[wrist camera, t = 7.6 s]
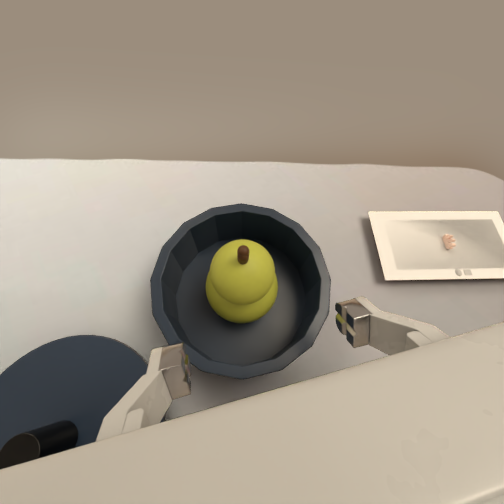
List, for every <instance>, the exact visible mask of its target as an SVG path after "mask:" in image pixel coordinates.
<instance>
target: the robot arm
mask: <svg viewBox="0 0 504 504" xmlns="http://www.w3.org/2000/svg"><path fill="white" fill-rule="evenodd" d="M335 310H336V311H337V312H338V314H337V315H336V324H337V327H338V329H339V331H340V332H341V333H342V334H344V335H346V336H347V341H348V342H349V343H350V344H351V345H352V346H353V348H356V347H360V346H364V345H368V344H369V345H370V346H372V347H374V348H376V349H378V350H380V351H382V352H384V353H386V354H388V355H390V356H386V357H383V358H380V359H376V360H373V361H369V362H366V363H362V364H359V365H356V366H352V367H349V368H345V369H342V370H339V371H335V372H332V373H328V374H325V375H321V376H318V377H315V378H311V379H308V380H305V381H301V382H298V383H294V384H291V385H288V386H284V387H281V388H277V389H274V390H271V391H267V392H264V393H260V394H257V395H253V396H250V397H247V398H243V399H240V400H236V401H233V402H230V403H226V404H223V405H219V406H216V407H213V408H209V409H206V410H202V411H199V412H195V413H192V414H189V415H185V416H182V417H178V418H175V419H172V420H168V421H165V422H161V423H160V421H161V420H162V418H163V416H164V415H165V413H166V411H167V410H168V408H169V406H170V404H171V403H172V400H174V399H177V398H180V397H183V396H186V395H190V394H191V381H190V378H189V377H190V376H191V365H190V360H189V356H188V355H187V354H186V347H185V344H184V342H180V343H176V344H172V345H167V346H163V347H159V348H155V349H153V350H152V351H151V354H150V359H149V363H148V368H147V372H146V375H143V376H142V377H141V378H140V379H139V380H138V381H137V382H136V383H135V384H134V386H133V387H132V388H131V389H130V390H129V391H128V392H127V393H126V394H125V395H124V396H123V397H122V399H121V400H120V401H119V402H118V403H117V404H116V405H115V406H114V407H113V408H112V409H111V411H110V412H109V413H108V414H107V415H106V416H105V417H104V419H103V422H102V424H101V427H100V430H99V433H98V436H97V439H96V442H93V443H90V444H86V445H83V446H79V447H76V448H73V449H69V450H66V451H62V452H59V453H56V454H52V455H49V456H45V457H42V458H39V459H35V460H32V461H28V462H25V463H21V464H18V465H14V466H11V467H7V468H3V469H0V504H504V322H502V323H498V324H495V325H492V326H488V327H485V328H482V329H478V330H475V331H471V332H468V333H465V334H461V335H458V336H454V337H449V336H448V335H447V334H445V333H444V332H442V331H441V330H440V329H438V328H437V327H435V326H434V325H431V324H428V323H424V322H421V321H417V320H414V319H411V318H407V317H404V316H400V315H397V314H393V313H390V312H386V311H383V312H382V311H381V310H379V309H378V308H377V307H376V306H375V305H373V304H372V303H371V302H370V301H368V300H367V299H366V298H365V297H363V296H360V297H357V298H353V299H351V300H347V301H343V302H339V303H336V305H335Z"/></svg>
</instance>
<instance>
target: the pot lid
mask: <svg viewBox="0 0 504 504" xmlns="http://www.w3.org/2000/svg"><path fill="white" fill-rule="evenodd" d="M147 368H148V364H147V362H146V361H145V360H144V359H143V357H142V356H140V355H139V354H138V353H137V352H136V351H135V350H134V349H132V348H130V347H129V346H127V345H126V344H124V343H122V342H119V341H117V340H115V339H111V338H107V337H103V336H96V335H78V336H71V337H66V338H62V339H58V340H55V341H52V342H50V343H47V344H45V345H42V346H40V347H38V348H37V349H35V350H33V351H31V352H29V353H28V354H26V355H25V356H23V357H21V358H20V359H18V360H17V361H16V362H15V363H13V364H12V365H11V366H10V367H8V368H7V369H6V370H5V371H4V372H3V373H2V374H1V375H0V469H3V468H7V467H11V466H14V465H18V464H21V463H25V462H28V461H32V460H35V459H39V458H42V457H45V456H49V455H52V454H56V453H59V452H62V451H66V450H69V449H73V448H76V447H79V446H83V445H86V444H90V443H93V442H96V439H97V436H98V433H99V430H100V427H101V424H102V422H103V419H104V417H105V416H106V415H107V414H108V413H109V412H110V411H111V409H112V408H113V407H114V406H115V405H116V404H117V403H118V402H119V401H120V400H121V399H122V397H123V396H124V395H125V394H126V393H127V392H128V391H129V390H130V389H131V388H132V387H133V386H134V384H135V383H136V382H137V381H138V380H139V379H140V378H141V377H142V376H143V375H146V372H147ZM161 422H165V415H164V416H163V418H162V420H161V421H160V423H161Z"/></svg>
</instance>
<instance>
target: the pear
mask: <svg viewBox="0 0 504 504" xmlns="http://www.w3.org/2000/svg"><path fill="white" fill-rule="evenodd" d="M277 292H278V282H277V277H276V274H275V267H274V262H273V259H272V257H271V255H270V254H269V253H268V251H267V250H266V249H265V248H264V247H263V246H261V245H260V244H258V243H256V242H254V241H250V240H242V239H241V240H234V241H231V242H229V243H227V244H225V245H224V246H222V247H221V248H220V249H219V250H218V251H217V252H216V254H215V255H214V257H213V259H212V262H211V265H210V271H209V273H208V276H207V279H206V295H207V299H208V301H209V303H210V305H211V307H212V308H213V310H214V311H215V312H216V313H217V314H218V315H219V316H221V317H222V318H224V319H225V320H228V321H230V322H234V323H249V322H253V321H255V320H258V319H260V318H261V317H263V316H264V315H265V314H266V313H267V312H268V311H269V310H270V309H271V307H272V306H273V304H274V302H275V300H276V297H277Z"/></svg>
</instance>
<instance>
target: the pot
mask: <svg viewBox="0 0 504 504" xmlns="http://www.w3.org/2000/svg"><path fill="white" fill-rule="evenodd" d="M241 239H242V240H250V241H254V242H256V243H258V244H260V245H261V246H263V247H264V248H265V249H266V250H267V251H268V253H269V254H270V255H271V257H272V259H273V262H274V267H275V274H276V277H277V282H278V292H277V297H276V300H275V302H274V304H273V306H272V307H271V309H270V310H269V311H268V312H267V313H266V314H265V315H264V316H263V317H261V318H260V319H258V320H255V321H253V322H249V323H234V322H230V321H228V320H225V319H224V318H222V317H221V316H219V315H218V314H217V313H216V312H215V311H214V310H213V308H212V307H211V305H210V303H209V301H208V299H207V295H206V279H207V276H208V273H209V271H210V265H211V262H212V259H213V257H214V255H215V254H216V252H217V251H218V250H219V249H220V248H221V247H222V246H224V245H225V244H227V243H229V242H231V241H234V240H241ZM150 281H151V297H152V313H153V316H154V318H155V320H156V322H157V324H158V326H159V327H160V329H161V331H162V333H163V335H164V337H165V339H166V341H167V342H168V344H169V345H172V344H176V343H180V342H184V344H185V347H186V354H187V355H188V356H189V360H190V363H191V364H193V365H194V366H195V367H197V368H198V369H199V370H201V371H203V372H207V373H212V374H217V375H222V376H227V377H232V378H237V379H247V378H251V377H255V376H260V375H264V374H268V373H272V372H276V371H280V370H283V369H284V368H285V367H286V366H288V365H289V364H290V363H291V362H293V361H294V360H295V359H296V358H298V357H299V356H300V355H301V354H303V353H304V352H305V351H306V350H308V349H309V348H310V347H312V345H313V343H314V341H315V339H316V337H317V335H318V334H319V332H320V330H321V328H322V326H323V324H324V322H325V320H326V318H327V316H328V313H329V302H330V284H331V279H330V275H329V272H328V270H327V267H326V264H325V261H324V258H323V255H322V253H321V250H320V247H319V246H318V245H317V244H316V243H315V241H314V240H313V239H312V238H311V237H310V236H309V235H308V233H307V232H306V231H305V230H304V229H303V228H302V226H301V225H300V224H298V223H297V222H295V221H293V220H291V219H289V218H288V217H286V216H284V215H282V214H280V213H279V212H277V211H275V210H273V209H269V208H264V207H258V206H253V205H247V204H242V203H241V204H235V205H228V206H222V207H215V208H212V209H209V210H207V211H205V212H203V213H201V214H199V215H198V216H196V217H194V218H192V219H190V220H188V221H186V222H184V223H183V224H182V225H181V226H180V228H179V229H178V230H177V231H176V232H175V233H174V234H173V235H172V237H171V238H170V239H169V240H168V241H167V242H166V243H165V244H164V246H163V247H162V249H161V252H160V254H159V257H158V260H157V263H156V266H155V268H154V271H153V274H152V277H151V280H150Z"/></svg>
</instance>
